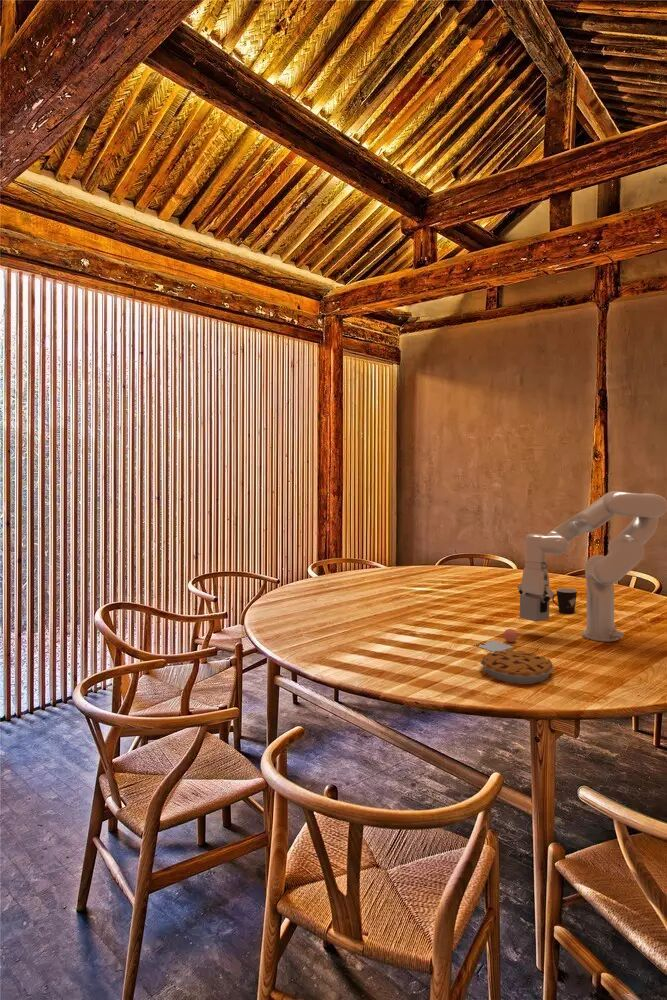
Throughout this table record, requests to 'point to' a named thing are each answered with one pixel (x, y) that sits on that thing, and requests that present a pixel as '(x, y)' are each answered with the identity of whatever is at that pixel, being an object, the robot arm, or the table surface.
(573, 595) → the coffee mug
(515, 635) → the ball
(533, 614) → the grey block
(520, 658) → the pie
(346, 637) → the table surface
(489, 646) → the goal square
